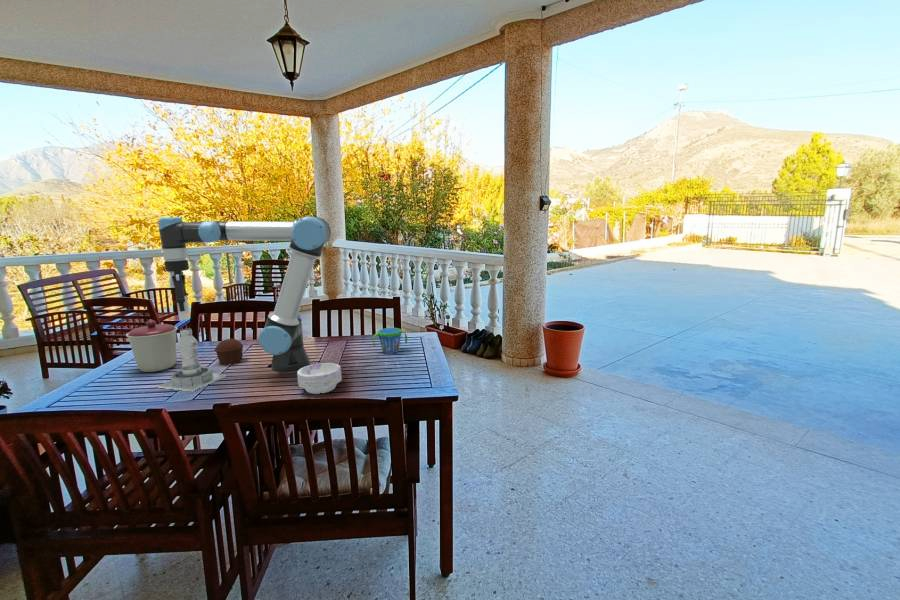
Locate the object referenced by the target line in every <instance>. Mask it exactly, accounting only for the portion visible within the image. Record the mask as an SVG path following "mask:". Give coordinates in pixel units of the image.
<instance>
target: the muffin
mask: <svg viewBox="0 0 900 600" xmlns="http://www.w3.org/2000/svg"><path fill="white" fill-rule="evenodd" d="M243 347H244V344H242V343H241V341H239V340H237V339H235V338H226V339H223V340H221V341H220V342H219V343H218V344H217V346H216V347H215V349H214V351H215V353H216V356H217V360H218V362H219V364H220V365H221V364H222V365H221V366H230V365H229V364H232V365H235V364H238V363H240V362H242V361H243Z"/></svg>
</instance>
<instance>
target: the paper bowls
mask: <svg viewBox="0 0 900 600" xmlns="http://www.w3.org/2000/svg"><path fill="white" fill-rule="evenodd" d="M296 375H297V384H298V387H300V388H303V389H304V390H305V392H307V393H309V394H313V395H321V394H320V393H322V394H327V393H329V392H331V391H333V390H334V389H336V387H337V384H339V383H340V382H342V367H341V365H339V364H337V363H334V362H321V363H319V362H318V363H313V364H309V365H308V366H305V367H303V368H301V369H299V370H297V373H296Z"/></svg>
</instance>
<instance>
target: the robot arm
mask: <svg viewBox="0 0 900 600" xmlns="http://www.w3.org/2000/svg"><path fill="white" fill-rule="evenodd" d="M157 224H158V232H159V236H160V243H161V248H162V251H160V254H161V255H163V260H164V262H163V263H164V264H163V265H164V269H165V271H166V272H168V273H169V272H173V275H172V276H171V281H172V282H173V283H172V284H173V288H174V293H175V299H174V303H175V304H176V306H177V313H178V319H179V321H187V320H189V316H188V314H189V313H190V309H189V302H188V296H189V295H190V294H189V292H187V290H186V286H185V285H186V275H185V274H184V272H183V271H188V270H189V269H190V265H189V260H188V258H189V257H188V249H187V245H186V244H198V243H199V244H201V243H209V244H211V243H215V242H218V241H220V242H222V241H223V242H225V241H226V242H228V241H234V242H235V241H236V242H237V241H239V242H240V241H241V242H242V241H244V242H247V241H250V242H251V241H253V242H257V241H258V242H260V241H261V242H262V241H263V242H264V241H265V242H266V241H267V242H269V241H270V242H271V241H273V242H279V241H280V242H281V241H282V242H285V241H286V242H290V243H289V250H290V251H291V255H290V259H289V262H288V265H287V267H286V272H285V274H284V278H283V281H282V285H281V288H280V290H279V294H278V297H277V301H276V303H275V307H274V310H273V311H272V312H271V313H268V315H267V318H266V322H265V325H264V328H262V329H261V331H260V332H259V335H258V345H259V347H260V348H261V350H263V351H264V352H265V353H267V354H269V355H272V358H271V364H270V365H271V370H273V371H275V372H280V373H281V372H286V373H287V372H294V371H298V370H299V369H301V368H303V367H305V366H308V365H311V364H310V357H309V356H308V353H307V351H306V349H305V346H304V335H303V326H302V325H303V322H302V320H303V319H302V315H301V313H300V312H299V311H300V309H301V305H302V302H303V299H304V295H305V292H306V289H307V286H308V283H309V280H310V277H311V274H312V271H313V268H314V264H315V262H316V260H317V259H319V258H321V257H322V253H323V250H324V247H325V245H326V244H327V243H328V242H329V241H330V238H331V235H332V230H331V227H330V224H329V222H328V221H326V220H325V218H322V217H319V216H309V215H308V216H304V217H301V218H296V219H294V221H244V220H243V221H234V220H233V221H232V220H231V221H225V220H224V221H221V220H210V221H208V220H205V221H190V222H189V221H188V222H187V221H183V219H182V217H180V216H171V217H169V216H167V217H159V219H158V223H157Z"/></svg>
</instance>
